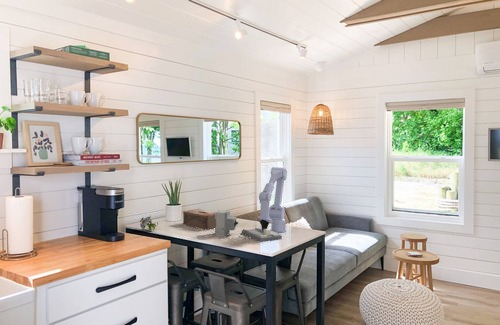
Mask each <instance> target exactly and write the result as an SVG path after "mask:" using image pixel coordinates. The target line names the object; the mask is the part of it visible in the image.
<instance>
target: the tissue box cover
mask: <svg viewBox="0 0 500 325" xmlns="http://www.w3.org/2000/svg"><path fill="white" fill-rule="evenodd" d="M215 212H216V211H212V210H206V209H202V208H196V209H189V210H184V211H183V214H182V215H183V218H182V219H183V224H184V226H187V225H188V227H192V228H196V227H197V229H201V230H205V229H206V230H205V231H210V229H211V230H215V229H214V228H216V219H215Z"/></svg>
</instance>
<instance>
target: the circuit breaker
mask: <svg viewBox="0 0 500 325" xmlns="http://www.w3.org/2000/svg"><path fill="white" fill-rule="evenodd" d="M214 212H215V219H216V228H215V229H214V236H225V237H227V236H228V235H229V234H230V233H231V231H235V230H236V229H237V225H238V224H239V221H237V216H231V210H221V209H220V210H217V211H214Z"/></svg>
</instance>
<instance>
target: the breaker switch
mask: <svg viewBox="0 0 500 325" xmlns="http://www.w3.org/2000/svg"><path fill="white" fill-rule="evenodd" d="M270 231H271V229H270V228H267V229H264V235H267V236H269V235H270Z"/></svg>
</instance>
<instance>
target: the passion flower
mask: <svg viewBox="0 0 500 325" xmlns="http://www.w3.org/2000/svg"><path fill="white" fill-rule="evenodd" d="M152 220H153V218H152V215H149V216H147V217H141V219H140V220H139V223H140V224H139V225H140V228H141V229H140V231H144V229H145V228H146V227H147V228H148V231H149V232H150V233H151V232H152V231H154V230H156V227H157V226H159V222H154V223H153V222H152Z"/></svg>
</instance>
